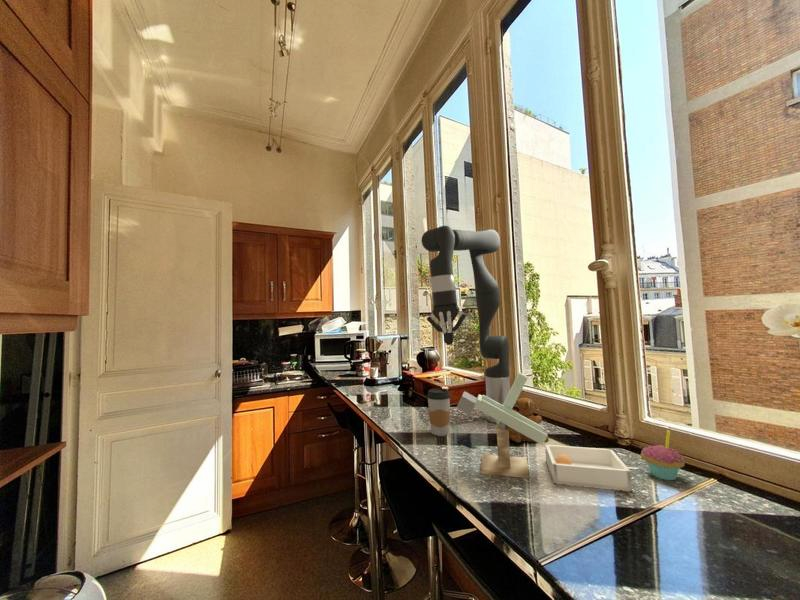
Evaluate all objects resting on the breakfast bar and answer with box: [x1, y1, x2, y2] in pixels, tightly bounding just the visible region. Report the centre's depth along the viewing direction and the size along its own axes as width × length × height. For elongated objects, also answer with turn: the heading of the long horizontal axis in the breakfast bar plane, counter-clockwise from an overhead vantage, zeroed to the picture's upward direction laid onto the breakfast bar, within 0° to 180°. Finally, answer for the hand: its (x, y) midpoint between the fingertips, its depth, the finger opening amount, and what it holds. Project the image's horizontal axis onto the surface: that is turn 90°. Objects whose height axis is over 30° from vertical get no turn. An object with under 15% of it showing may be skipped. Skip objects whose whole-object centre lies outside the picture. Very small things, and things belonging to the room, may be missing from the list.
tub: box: [544, 444, 633, 492], centre depth 83 cm, size 16×13×4 cm
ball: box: [556, 455, 571, 465], centre depth 84 cm, size 4×4×4 cm
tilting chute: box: [456, 372, 549, 446], centre depth 90 cm, size 23×10×16 cm, turn 73°
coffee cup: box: [426, 387, 451, 437], centre depth 117 cm, size 8×8×15 cm
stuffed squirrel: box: [508, 397, 550, 444], centre depth 109 cm, size 10×14×13 cm
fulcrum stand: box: [480, 422, 531, 479], centre depth 89 cm, size 12×10×11 cm
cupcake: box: [640, 427, 685, 481], centre depth 81 cm, size 9×8×12 cm
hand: (449, 344), depth 103 cm, fingers closed
